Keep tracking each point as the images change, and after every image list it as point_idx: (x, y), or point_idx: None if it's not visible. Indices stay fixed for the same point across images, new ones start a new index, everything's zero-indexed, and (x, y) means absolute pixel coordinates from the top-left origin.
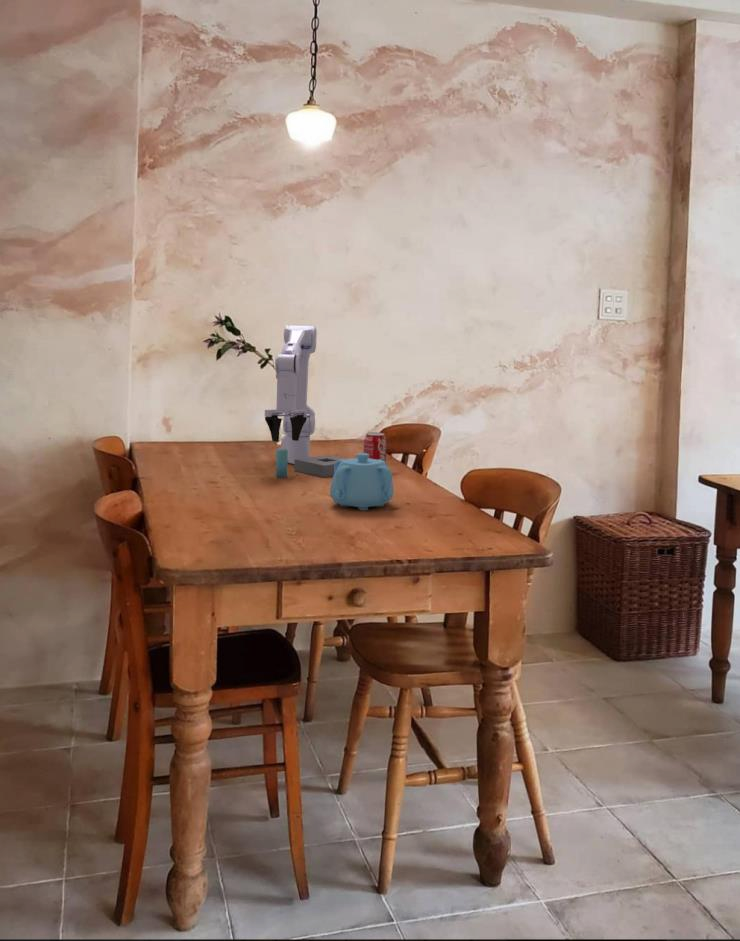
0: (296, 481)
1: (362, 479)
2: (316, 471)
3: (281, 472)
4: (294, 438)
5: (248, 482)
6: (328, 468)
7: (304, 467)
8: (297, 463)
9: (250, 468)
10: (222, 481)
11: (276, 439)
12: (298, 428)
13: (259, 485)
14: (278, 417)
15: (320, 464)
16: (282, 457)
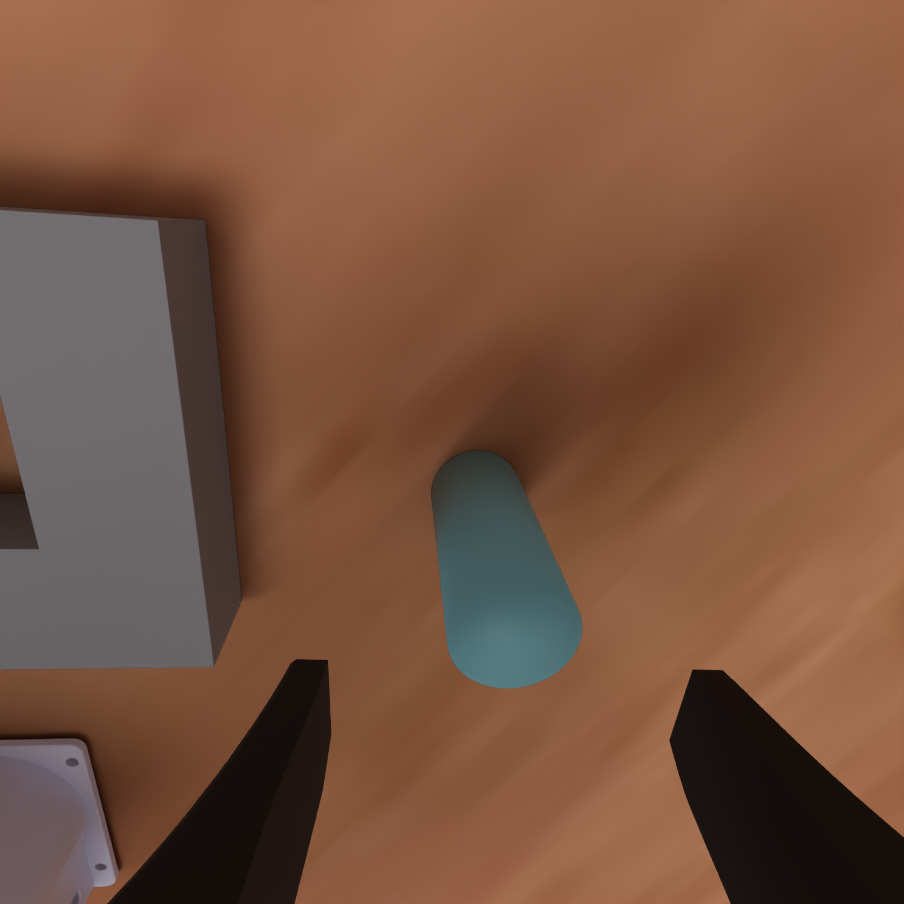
0: (544, 250)
1: None
2: (203, 346)
3: (515, 478)
4: (322, 728)
5: (820, 458)
6: (106, 216)
7: (217, 513)
8: (219, 608)
9: (435, 788)
10: (886, 578)
11: (745, 695)
12: (259, 860)
13: (873, 319)
14: None
15: (155, 309)
16: (540, 543)
